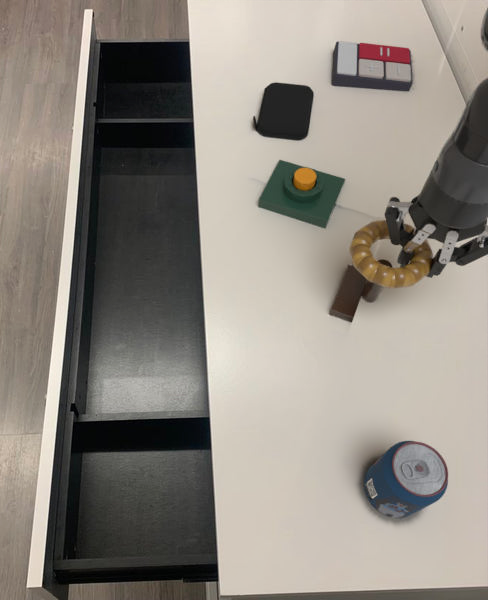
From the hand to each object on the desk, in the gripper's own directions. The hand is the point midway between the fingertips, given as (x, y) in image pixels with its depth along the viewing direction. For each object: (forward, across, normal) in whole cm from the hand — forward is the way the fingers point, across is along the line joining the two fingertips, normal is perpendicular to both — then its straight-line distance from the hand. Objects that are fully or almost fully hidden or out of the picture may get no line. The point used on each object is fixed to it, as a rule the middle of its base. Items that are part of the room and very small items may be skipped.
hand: (416, 267), depth 70 cm
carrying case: (+12, +30, -34) cm, 47 cm away
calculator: (+12, +18, -52) cm, 56 cm away
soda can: (+12, -6, +26) cm, 29 cm away
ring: (-1, +4, 0) cm, 4 cm away
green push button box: (+11, +20, -16) cm, 28 cm away
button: (+8, +20, -16) cm, 27 cm away
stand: (+12, +4, 0) cm, 12 cm away
